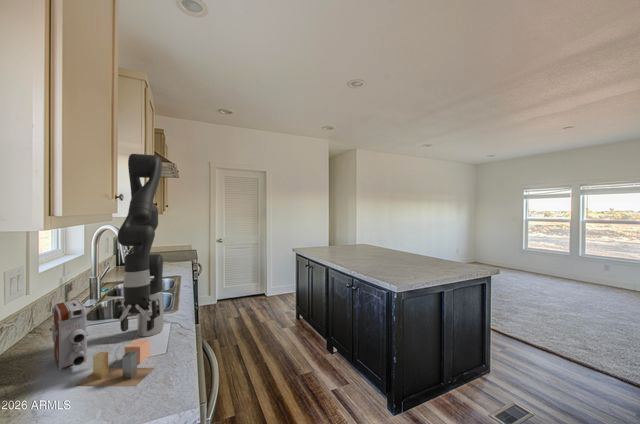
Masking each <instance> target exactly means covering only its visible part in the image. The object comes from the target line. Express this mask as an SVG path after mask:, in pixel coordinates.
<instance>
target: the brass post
mask: <svg viewBox="0 0 640 424" xmlns="http://www.w3.org/2000/svg"><path fill="white" fill-rule="evenodd" d="M108 368H109V351H99V352H97V353H96V354H94V355H93V356H92V373H93V379H102V378H104V377H105V376H106V375H108Z"/></svg>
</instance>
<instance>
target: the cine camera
mask: <svg viewBox="0 0 640 424" xmlns="http://www.w3.org/2000/svg"><path fill="white" fill-rule="evenodd" d="M51 314H52V315H53V325H52V326H51V336H52V337H51V338H52V343H53V347H54V348H53V349H54V350H53V352H54V353H53V354H54V359H55V360H54V361H55V362H56V365H57V368H58V370H59V371H61V370H65V369H68V368H71V367H73V366H75V367H77V366H81V365H82V364H83V363H86V362H87V359H88V358H87V357H88V354H87V352H88V340H87V339H88V337H90V336H91V332H90V331H89V330H88V331H87V329H88V322H87V321H88V319H87V308H86V306H85V305H84V304H83V303H82V302H81V300H80V299H74V300H69V301H65V302H58V303H56V304H54V305H53V306H52V307H51Z"/></svg>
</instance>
